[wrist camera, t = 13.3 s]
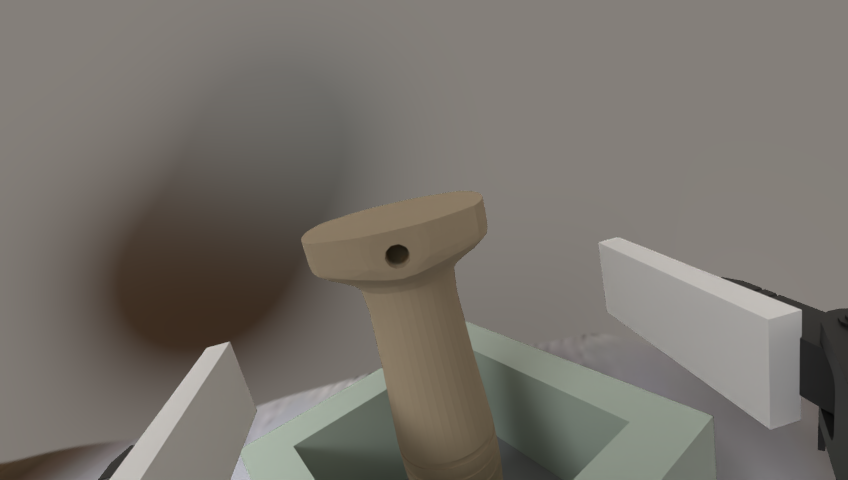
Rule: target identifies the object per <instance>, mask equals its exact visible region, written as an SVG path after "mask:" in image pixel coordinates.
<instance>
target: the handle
mask: <svg viewBox="0 0 848 480" xmlns="http://www.w3.org/2000/svg"><path fill="white" fill-rule="evenodd" d="M486 233H487V219H486V213H485V208H484V202H483V197H482V195H481V194H479V193H478V192H473V191H456V192H449V193H442V194H436V195H430V196H424V197H419V198H413V199H408V200H404V201H400V202H395V203H391V204H387V205H382V206H378V207H374V208H370V209H367V210H363V211H360V212H356V213H353V214H350V215H347V216H343V217H340V218H337V219H334V220H331V221H328V222H325V223H322V224H320V225H318V226H316V227H315V228H312V229H311V230H309V231H308V232H306V233H305V234H304V235H303V237H302V238H301V241H302V244H303V248H304V251H305V254H306V257H307V260H308V263H309V266H310V268H311V271H312V272H313V274H315V275H316V276H318V277H320V278H323V279H325V280H329V281H332V282H338V283H343V284H347V285H352V286H355V287H357V288H359V289H360V290H361V291H362V294H363V296H364V299H365V302H366V304H367V306H368V309H369V312H370V316H371V320H372V325H373V329H374V333H375V338H376V342H377V346H378V350H379V355H380V359H381V364H382V368H383V373H384V378H385V383H386V387H387V392H388V397H389V402H390V407H391V412H392V417H393V422H394V427H395V431H396V436H397V441H398V445H399V449H400V453H401V456H402V459H403V463H404V467H405V470H406V473H407V476H408V479H409V480H503V475H502V465H501V457H500V450H499V445H498V440H497V435H496V431H495V426H494V422H493V417H492V413H491V410H490V407H489V403H488V400H487V396H486V393H485V389H484V386H483V383H482V379H481V376H480V372H479V369H478V366H477V362H476V359H475V355H474V352H473V349H472V345H471V341H470V338H469V334H468V330H467V326H466V323H465V319H464V315H463V312H462V308H461V304H460V301H459V297H458V293H457V288H456V280H455V272H454V266H455V264H456V263H457V262H458V261H459V260H460V259H461V258H462V257H463V256H464V255H465V254H467V253H468V252H469V251H471V250H472V249H473V248H474V247H475V246H476V245H477V244H478V243H479V242H480V241H481V240H482V239H483V237H484V236H485V235H486Z"/></svg>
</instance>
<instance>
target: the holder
mask: <svg viewBox="0 0 848 480" xmlns="http://www.w3.org/2000/svg"><path fill="white" fill-rule="evenodd" d="M465 323H466V326H467V330H468V334H469V338H470V341H471V345H472V349H473V352H474V355H475V359H476V362H477V366H478V369H479V372H480V376H481V379H482V383H483V386H484V389H485V393H486V396H487V400H488V403H489V407H490V410H491V413H492V417H493V422H494V426H495V431H496V435H497V440H498V445H499V450H500V457H501V465H502V475H503V480H717V476H716V458H715V440H714V421H713V416H712V415H709V414H707V413H704V412H701V411H699V410H696V409H694V408H691V407H688V406H686V405H683V404H681V403H678V402H675V401H673V400H670V399H668V398H665V397H662V396H660V395H657V394H654V393H652V392H649V391H647V390H644V389H641V388H639V387H636V386H634V385H631V384H628V383H626V382H623V381H621V380H618V379H615V378H613V377H610V376H608V375H605V374H602V373H600V372H597V371H595V370H592V369H589V368H587V367H584V366H581V365H579V364H576V363H574V362H571V361H568V360H566V359H563V358H561V357H558V356H555V355H553V354H550V353H548V352H545V351H542V350H540V349H537V348H535V347H532V346H529V345H527V344H524V343H521V342H519V341H516V340H514V339H511V338H508V337H506V336H503V335H500V334H498V333H495V332H493V331H490V330H488V329H485V328H482V327H480V326H477V325H474V324H472V323H469V322H467V321H465ZM240 455H241V458H242V460H243V463H244V465H245V467H246V470H247V472H248V474H249V477H250V479H251V480H409V479H408V476H407V473H406V470H405V467H404V463H403V459H402V456H401V453H400V449H399V445H398V441H397V436H396V431H395V427H394V422H393V417H392V412H391V407H390V402H389V397H388V392H387V387H386V383H385V378H384V373H383V368H380V369H378V370H377V371H375V372H373V373H371V374H370V375H368V376H366V377H365V378H363V379H361V380H359V381H358V382H356V383H354V384H352V385H351V386H349V387H347V388H345V389H344V390H342V391H340V392H339V393H337V394H335V395H333V396H332V397H330V398H328V399H326V400H325V401H323V402H321V403H319V404H318V405H316V406H314V407H312V408H311V409H309V410H307V411H306V412H304V413H302V414H300V415H299V416H297V417H295V418H293V419H292V420H290V421H288V422H286V423H285V424H283V425H281V426H279V427H278V428H276V429H274V430H273V431H271V432H269V433H267V434H266V435H264V436H262V437H260V438H259V439H257V440H255V441H253V442H252V443H250V444H248V445H246V446H245V447H243V448H242V451H241V453H240Z"/></svg>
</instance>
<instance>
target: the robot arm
mask: <svg viewBox="0 0 848 480" xmlns="http://www.w3.org/2000/svg"><path fill="white" fill-rule="evenodd" d="M598 246H599V253H600V262H601V269H602V276H603V286H604V294H605V302H606V309H607V312H608V313H609V314H611V315H612V316H614V317H615V318H616V319H618V320H619V321H620V322H622V323H623V324H625V325H626V326H627V327H629V328H630V329H632V330H633V331H634V332H636V333H637V334H638V335H640V336H641V337H643V338H644V339H645V340H647V341H648V342H650V343H651V344H652V345H654V346H655V347H656V348H658V349H659V350H661V351H662V352H663V353H665V354H666V355H667V356H669V357H670V358H672V359H673V360H674V361H676V362H677V363H679V364H680V365H681V366H683V367H684V368H685V369H687V370H688V371H690V372H691V373H692V374H694V375H695V376H697V377H698V378H699V379H701V380H702V381H703V382H705V383H706V384H708V385H709V386H710V387H712V388H713V389H715V390H716V391H717V392H719V393H720V394H721V395H723V396H724V397H726V398H727V399H728V400H730V401H731V402H733V403H734V404H735V405H737V406H738V407H739V408H741V409H742V410H744V411H745V412H746V413H748V414H749V415H751V416H752V417H753V418H755V419H756V420H757V421H759V422H760V423H762V424H763V425H764V426H766V427H767V428H768V429H770V430H771V429H774V428H777V427H780V426H784V425H787V424H790V423H793V422H796V421H799V420H801V396H802V397H804V398H806V399H807V400H809V401H811V402H812V403H814V404H816V405H817V406H819V424H818V450H822V451H825V447H827V451H828V454H829V457H830V460H831V464H832V467H833V470H834V474H835V477H836V480H848V309H836V310H832V311H828V312H823V311H820V310H818V309H815V308H813V307H810V306H807V305H804V304H802V303H799V302H797V301H794V300H791V299H789V298H786V297H784V296H781V295H778V296H777V295H776V293H773V292H771V291H768V290H762V289H761V288H760V287H757V286H755V285H752V284H750V283H747V282H744V281H740V280H734V279H729V278H724V277H721V278H720V277H718V276H715V275H713V274H710V273H707V272H705V271H702V270H700V269H697V268H695V267H692V266H690V265H687V264H685V263H682V262H680V261H677V260H675V259H672V258H670V257H667V256H665V255H662V254H660V253H657V252H655V251H652V250H650V249H647V248H645V247H642V246H639V245H637V244H634V243H632V242H630V241H627V240H624V239H622V238H619V237H617V238H613V239H609V240H605V241H601V242H598ZM256 412H257V409H256V407H255V404H254V402H253V399H252V397H251V394H250V392H249V389H248V386H247V384H246V381H245V379H244V376H243V374H242V371H241V369H240V366H239V364H238V361H237V358H236V356H235V353H234V351H233V348H232V346H231V343H230V342H227V343H223V344H219V345H216V346H212V347H208V348H206V350H205V351H204V352H203V354H202V355H201V356H200V358H199V359H198V361H197V362H196V363H195V365H194V366H193V367H192V369H191V370H190V371H189V373H188V374H187V376H186V377H185V378H184V379H183V381H182V382H181V384H180V385H179V386H178V388H177V389H176V390H175V392H174V393H173V394H172V396H171V397H170V399H169V400H168V401H167V402H166V404H165V405H164V407H163V408H162V409H161V411H160V412H159V413H158V415H157V416H156V417H155V419H154V420H153V421H152V423H151V424H150V425H149V427H148V428H147V429H146V431H145V432H144V434H143V435H142V436H141V438H140V439H139V440H138V442H137V443H136V444H135V445H132V446H130V447H129V448H128V449H126V450H125V451H124V452H123V453H122V454H121V455H119V456H118V457H117V458H116V459H115V460H114V461H113V462H111V464H110V465H109V466H108V467H107V469H106V470H105V471H104V473H103V474H102V475H101V477H100V478H99V479H98V480H230V479H231V476H232V474H233V471H234V469H235V466H236V464H237V461H238V458H239V456H240V453H241V451H242V448H243V445H244V443H245V440H246V438H247V435H248V433H249V430H250V427H251V425H252V422H253V420H254V417H255V415H256Z"/></svg>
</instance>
